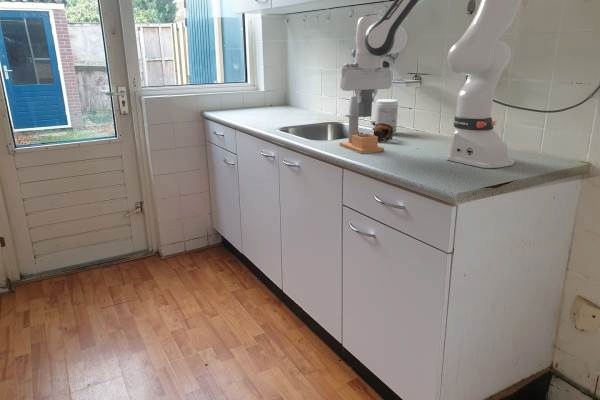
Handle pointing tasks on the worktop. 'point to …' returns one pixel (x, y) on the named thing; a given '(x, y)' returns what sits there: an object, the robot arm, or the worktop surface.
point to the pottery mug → (383, 131)
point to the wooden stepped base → (361, 141)
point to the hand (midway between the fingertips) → (365, 102)
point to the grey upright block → (365, 103)
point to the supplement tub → (387, 112)
